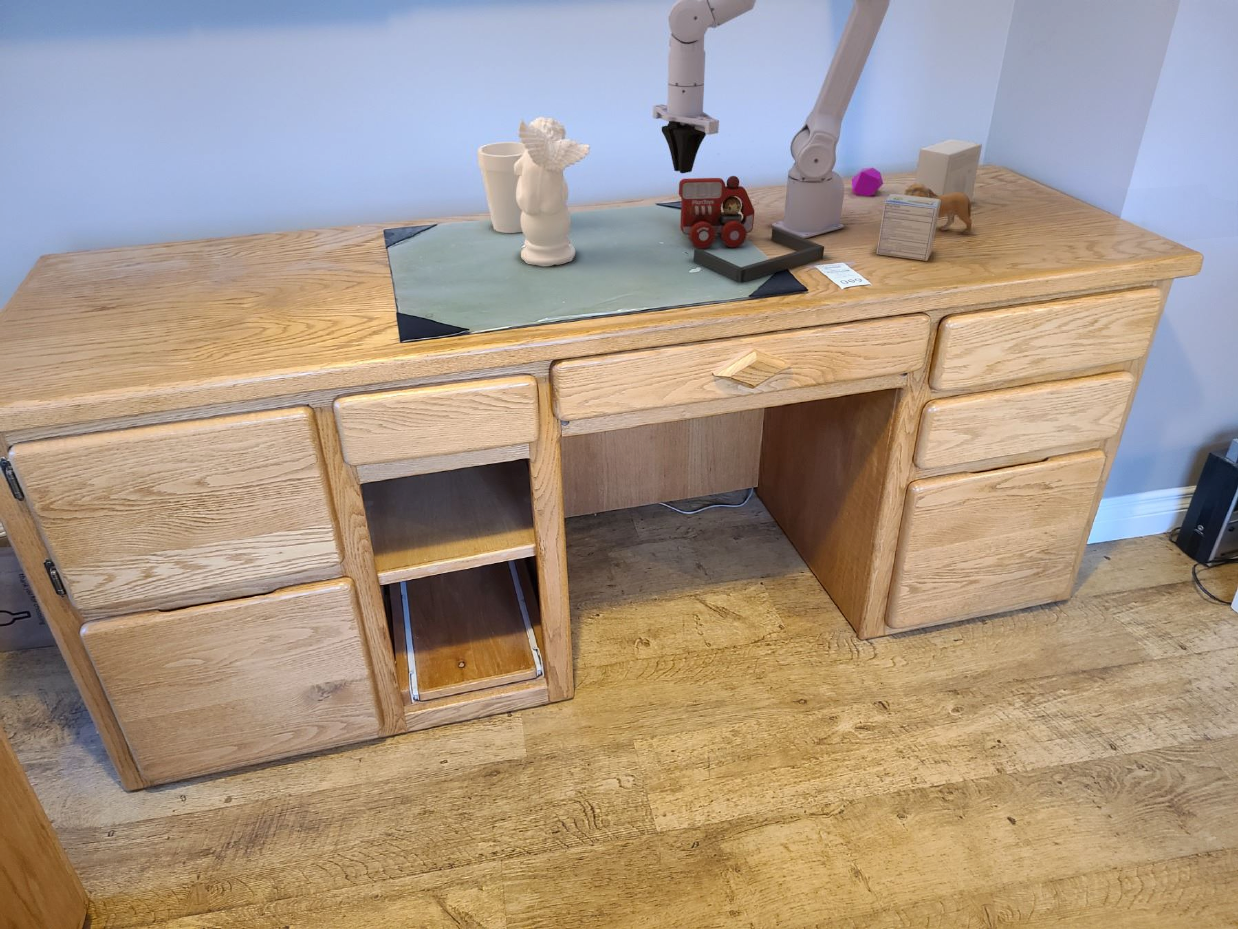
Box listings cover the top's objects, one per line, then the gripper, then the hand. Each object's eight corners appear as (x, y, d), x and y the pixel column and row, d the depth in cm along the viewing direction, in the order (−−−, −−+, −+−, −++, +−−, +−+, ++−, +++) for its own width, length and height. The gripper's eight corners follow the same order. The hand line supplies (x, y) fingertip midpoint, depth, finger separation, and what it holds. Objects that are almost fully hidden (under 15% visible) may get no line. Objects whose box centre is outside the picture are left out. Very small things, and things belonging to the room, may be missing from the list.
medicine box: (931, 253, 142) (942, 198, 137) (927, 262, 138) (937, 206, 134) (881, 246, 145) (890, 192, 140) (875, 255, 141) (884, 200, 136)
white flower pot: (550, 223, 155) (546, 146, 147) (517, 239, 148) (511, 159, 141) (506, 214, 159) (501, 139, 152) (473, 229, 152) (465, 151, 145)
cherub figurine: (542, 241, 147) (534, 100, 135) (609, 253, 142) (607, 107, 130) (502, 266, 138) (490, 117, 126) (573, 279, 133) (567, 125, 121)
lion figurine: (909, 245, 145) (919, 189, 140) (888, 235, 149) (897, 180, 144) (980, 233, 150) (992, 178, 145) (958, 223, 154) (970, 170, 149)
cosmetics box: (940, 195, 167) (951, 137, 161) (971, 202, 163) (984, 143, 157) (908, 206, 161) (918, 147, 156) (940, 215, 157) (952, 154, 152)
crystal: (883, 196, 167) (886, 171, 164) (854, 197, 166) (858, 171, 164) (874, 188, 171) (878, 163, 169) (846, 189, 171) (850, 164, 168)
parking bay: (774, 239, 148) (775, 227, 146) (823, 258, 140) (824, 246, 139) (693, 261, 139) (693, 248, 138) (740, 283, 132) (741, 270, 131)
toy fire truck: (756, 247, 144) (762, 182, 139) (681, 250, 143) (683, 184, 138) (747, 232, 150) (752, 169, 145) (674, 235, 149) (676, 172, 144)
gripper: (638, 78, 143) (637, 165, 151) (695, 93, 133) (691, 185, 141) (673, 74, 147) (670, 158, 154) (731, 88, 137) (725, 177, 144)
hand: (683, 171), depth 148 cm, fingers closed
